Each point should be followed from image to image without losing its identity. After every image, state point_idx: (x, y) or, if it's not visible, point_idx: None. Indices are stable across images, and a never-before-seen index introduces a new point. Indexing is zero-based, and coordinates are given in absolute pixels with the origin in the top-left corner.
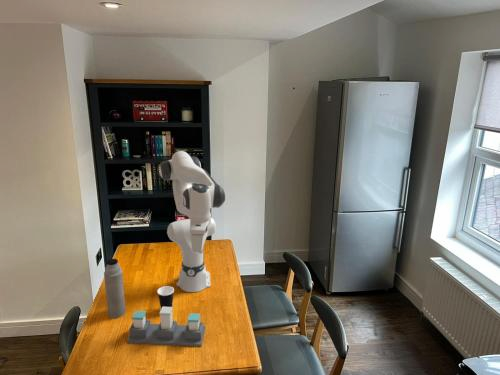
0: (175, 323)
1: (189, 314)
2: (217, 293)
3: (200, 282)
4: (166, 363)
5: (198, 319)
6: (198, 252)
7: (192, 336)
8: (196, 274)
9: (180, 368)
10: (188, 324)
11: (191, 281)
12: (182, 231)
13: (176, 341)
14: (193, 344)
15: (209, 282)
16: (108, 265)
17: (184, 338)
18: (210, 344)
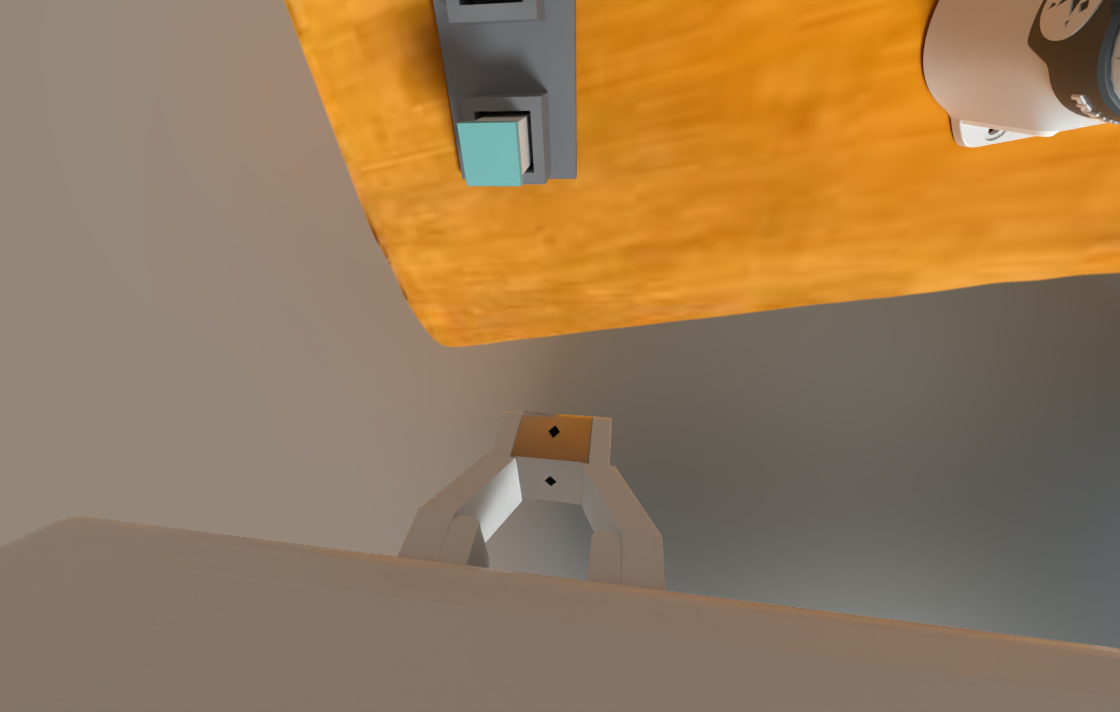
0: (514, 17)
1: (503, 123)
2: (860, 198)
3: (978, 87)
4: (334, 35)
5: (472, 185)
6: (505, 413)
7: None
8: (1039, 57)
9: (335, 112)
10: (517, 106)
11: (1004, 9)
12: None
13: (453, 49)
14: (457, 143)
15: (1000, 137)
16: None
17: (481, 89)
18: (484, 211)
